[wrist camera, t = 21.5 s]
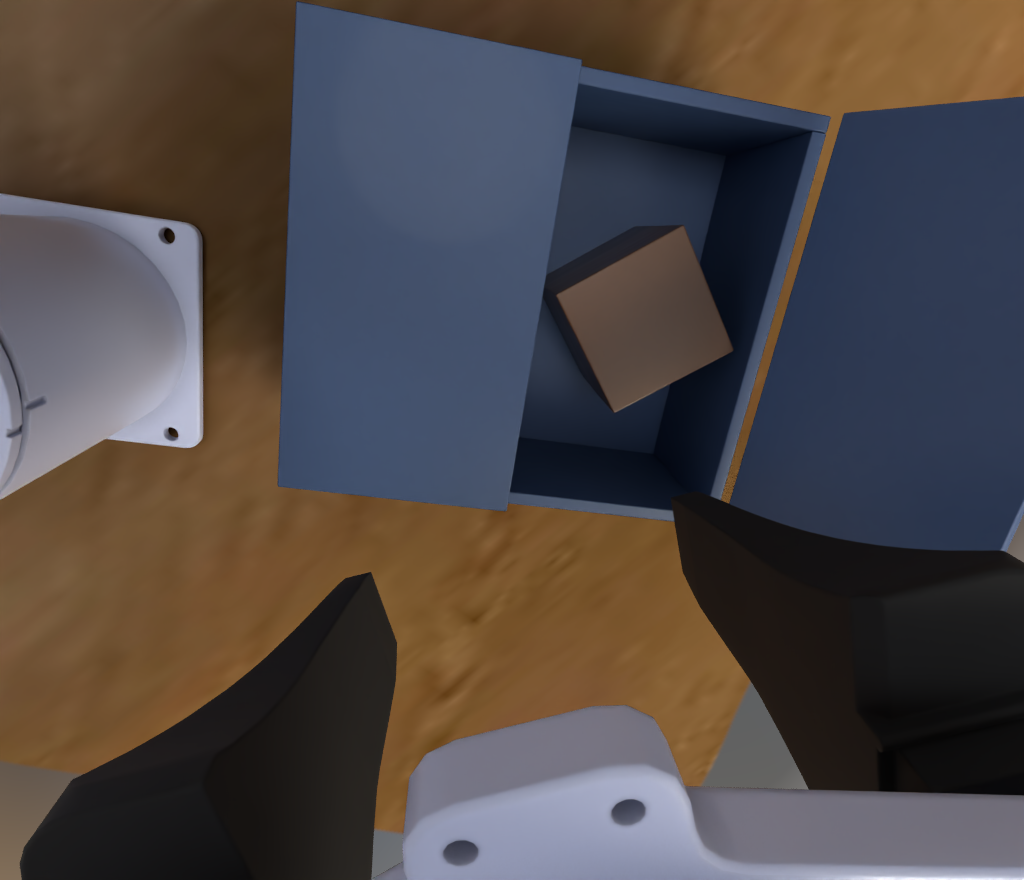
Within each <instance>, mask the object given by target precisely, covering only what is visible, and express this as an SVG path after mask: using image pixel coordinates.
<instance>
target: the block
mask: <svg viewBox="0 0 1024 880" xmlns="http://www.w3.org/2000/svg"><path fill="white" fill-rule="evenodd" d="M543 298H544V300H545V302H546V304H547V306H548V308H549V310H550V312H551V314H552V316H553V318H554V320H555V322H556V324H557V326H558V328H559V330H560V332H561V334H562V336H563V338H564V340H565V342H566V344H567V346H568V348H569V350H570V352H571V354H572V356H573V358H574V360H575V362H576V364H577V366H578V368H579V370H580V372H581V374H582V376H583V377H584V378H585V379H586V381H587V382H588V383H589V384H590V385H591V387H592V388H593V389H594V390H595V391H596V393H597V394H598V395H599V396H600V397H601V399H602V400H603V401H604V402H605V403H606V405H607V406H608V407H609V408H610V409H611V411H612V412H613V413H616V412H618V411H620V410H621V409H623V408H625V407H627V406H629V405H631V404H633V403H635V402H637V401H639V400H641V399H643V398H644V397H646V396H648V395H650V394H652V393H654V392H656V391H658V390H660V389H662V388H664V387H666V386H667V385H669V384H671V383H673V382H675V381H677V380H679V379H681V378H683V377H685V376H687V375H688V374H690V373H692V372H694V371H696V370H698V369H700V368H702V367H704V366H706V365H708V364H710V363H711V362H713V361H715V360H717V359H719V358H721V357H723V356H725V355H727V354H729V353H731V352H732V351H734V349H733V346H732V344H731V341H730V339H729V336H728V334H727V331H726V329H725V326H724V324H723V321H722V319H721V316H720V314H719V311H718V309H717V306H716V304H715V301H714V299H713V296H712V294H711V291H710V289H709V286H708V284H707V281H706V279H705V276H704V274H703V271H702V269H701V266H700V264H699V261H698V259H697V256H696V254H695V251H694V249H693V246H692V244H691V241H690V239H689V236H688V234H687V231H686V229H685V226H684V225H667V226H635V227H633V228H631V229H629V230H627V231H625V232H624V233H622V234H620V235H618V236H616V237H615V238H613V239H611V240H609V241H607V242H605V243H604V244H602V245H600V246H598V247H596V248H595V249H593V250H591V251H589V252H587V253H585V254H584V255H582V256H580V257H578V258H576V259H575V260H573V261H571V262H569V263H567V264H565V265H564V266H562V267H560V268H558V269H556V270H555V271H553V272H551V273H549V274H547V275H546V279H545V285H544V291H543Z"/></svg>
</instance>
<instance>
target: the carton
mask: <svg viewBox="0 0 1024 880" xmlns="http://www.w3.org/2000/svg"><path fill="white" fill-rule="evenodd" d="M830 119H831V117H829V116H825V115H820V114H816V113H811V112H806V111H801V110H796V109H791V108H786V107H781V106H776V105H771V104H766V103H762V102H757V101H752V100H747V99H742V98H737V97H732V96H727V95H722V94H717V93H712V92H707V91H703V90H698V89H693V88H688V87H683V86H678V85H673V84H668V83H663V82H658V81H653V80H649V79H644V78H639V77H634V76H629V75H624V74H619V73H614V72H609V71H604V70H599V69H594V68H590V67H585V66H582V60H581V59H577V58H573V57H568V56H563V55H558V54H553V53H548V52H543V51H538V50H533V49H529V48H524V47H519V46H514V45H509V44H504V43H499V42H494V41H490V40H485V39H480V38H475V37H470V36H465V35H460V34H455V33H450V32H446V31H441V30H436V29H431V28H426V27H421V26H416V25H411V24H407V23H402V22H397V21H392V20H387V19H382V18H377V17H372V16H368V15H363V14H358V13H353V12H348V11H343V10H338V9H333V8H328V7H324V6H319V5H314V4H309V3H304V2H299V1H297V2H296V18H295V44H294V70H293V96H292V123H291V149H290V175H289V201H288V228H287V254H286V280H285V306H284V332H283V359H282V385H281V411H280V437H279V464H278V487H287V488H296V489H305V490H314V491H324V492H333V493H342V494H351V495H360V496H369V497H379V498H388V499H397V500H406V501H415V502H424V503H434V504H443V505H452V506H461V507H470V508H479V509H489V510H498V511H506V510H507V505H508V503H511V504H520V505H529V506H539V507H548V508H557V509H566V510H575V511H584V512H593V513H602V514H611V515H620V516H629V517H638V518H647V519H656V520H665V521H674V515H673V509H672V503H671V497H674V496H678V495H682V494H686V493H690V492H695V491H698V492H701V493H704V494H706V495H709V496H711V497H714V498H716V499H719V500H721V497H722V493H723V490H724V486H725V483H726V480H727V476H728V473H729V469H730V466H731V462H732V459H733V455H734V452H735V448H736V445H737V441H738V438H739V434H740V431H741V427H742V424H743V421H744V417H745V414H746V410H747V407H748V403H749V400H750V396H751V393H752V389H753V386H754V382H755V379H756V375H757V372H758V368H759V365H760V362H761V358H762V355H763V351H764V348H765V344H766V341H767V337H768V334H769V330H770V327H771V323H772V320H773V316H774V313H775V309H776V306H777V303H778V299H779V296H780V292H781V289H782V285H783V282H784V278H785V275H786V271H787V268H788V264H789V261H790V257H791V254H792V250H793V247H794V244H795V240H796V237H797V233H798V230H799V226H800V223H801V219H802V216H803V212H804V209H805V205H806V202H807V198H808V195H809V191H810V188H811V185H812V181H813V178H814V174H815V171H816V167H817V164H818V160H819V157H820V153H821V150H822V146H823V143H824V139H825V136H826V134H825V133H826V132H827V129H828V126H829V122H830ZM667 225H684V226H685V229H686V231H687V234H688V236H689V239H690V241H691V244H692V246H693V249H694V251H695V254H696V256H697V259H698V261H699V264H700V266H701V269H702V271H703V274H704V276H705V279H706V281H707V284H708V286H709V289H710V291H711V294H712V296H713V299H714V301H715V304H716V306H717V309H718V311H719V314H720V316H721V319H722V321H723V324H724V326H725V329H726V331H727V334H728V336H729V339H730V341H731V344H732V346H733V349H734V351H732V352H731V353H729V354H727V355H725V356H723V357H721V358H719V359H717V360H715V361H713V362H711V363H710V364H708V365H706V366H704V367H702V368H700V369H698V370H696V371H694V372H692V373H690V374H688V375H687V376H685V377H683V378H681V379H679V380H677V381H675V382H673V383H671V384H669V385H667V386H666V387H664V388H662V389H660V390H658V391H656V392H654V393H652V394H650V395H648V396H646V397H644V398H643V399H641V400H639V401H637V402H635V403H633V404H631V405H629V406H627V407H625V408H623V409H621V410H620V411H618V412H616V413H613V412H612V411H611V409H610V408H609V407H608V406H607V405H606V403H605V402H604V401H603V400H602V399H601V397H600V396H599V395H598V394H597V393H596V391H595V390H594V389H593V388H592V387H591V385H590V384H589V383H588V382H587V381H586V379H585V378H584V377H583V376H582V374H581V372H580V370H579V368H578V366H577V364H576V362H575V360H574V358H573V356H572V354H571V352H570V350H569V348H568V346H567V344H566V342H565V340H564V338H563V336H562V334H561V332H560V330H559V328H558V326H557V324H556V322H555V320H554V318H553V316H552V314H551V312H550V310H549V308H548V306H547V304H546V302H545V300H544V298H543V291H544V285H545V279H546V275H547V274H549V273H551V272H553V271H555V270H556V269H558V268H560V267H562V266H564V265H565V264H567V263H569V262H571V261H573V260H575V259H576V258H578V257H580V256H582V255H584V254H585V253H587V252H589V251H591V250H593V249H595V248H596V247H598V246H600V245H602V244H604V243H605V242H607V241H609V240H611V239H613V238H615V237H616V236H618V235H620V234H622V233H624V232H625V231H627V230H629V229H631V228H633V227H635V226H667ZM674 522H675V521H674Z"/></svg>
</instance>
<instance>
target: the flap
mask: <svg viewBox="0 0 1024 880" xmlns="http://www.w3.org/2000/svg"><path fill="white" fill-rule="evenodd" d="M729 504H731V505H733V506H736V507H738V508H741V509H743V510H746V511H748V512H751V513H753V514H756V515H759V516H761V517H764V518H767V519H770V520H773V521H776V522H779V523H782V524H785V525H788V526H791V527H794V528H798V529H801V530H805V531H808V532H812V533H817V534H821V535H825V536H830V537H834V538H838V539H844V540H849V541H855V542H861V543H868V544H875V545H882V546H891V547H901V548H913V549H928V550H1003V551H1005V552H1006V551H1007V549H1008V546H1009V544H1010V542H1011V540H1012V538H1013V536H1014V533H1015V531H1016V529H1017V527H1018V525H1019V523H1020V521H1021V518H1022V516H1023V514H1024V97H1014V98H1004V99H993V100H982V101H971V102H960V103H949V104H938V105H927V106H917V107H906V108H895V109H884V110H873V111H862V112H851V113H844V115H843V118H842V122H841V125H840V128H839V132H838V135H837V139H836V142H835V146H834V149H833V152H832V156H831V159H830V163H829V166H828V169H827V173H826V176H825V180H824V183H823V186H822V190H821V193H820V197H819V200H818V203H817V207H816V210H815V214H814V217H813V220H812V224H811V227H810V231H809V234H808V237H807V241H806V244H805V248H804V251H803V254H802V258H801V261H800V265H799V268H798V272H797V275H796V278H795V282H794V285H793V289H792V292H791V295H790V299H789V302H788V306H787V309H786V312H785V316H784V319H783V323H782V326H781V329H780V333H779V336H778V340H777V343H776V346H775V350H774V353H773V357H772V360H771V363H770V367H769V370H768V374H767V377H766V380H765V384H764V387H763V391H762V394H761V398H760V401H759V404H758V408H757V411H756V415H755V418H754V421H753V425H752V428H751V432H750V435H749V438H748V442H747V445H746V449H745V452H744V455H743V459H742V462H741V466H740V469H739V472H738V476H737V479H736V483H735V486H734V489H733V493H732V496H731V500H730V503H729Z"/></svg>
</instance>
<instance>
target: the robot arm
mask: <svg viewBox="0 0 1024 880" xmlns="http://www.w3.org/2000/svg"><path fill="white" fill-rule="evenodd" d="M167 228H170V229H171V230H172V231H173V232H174V234H175V240H174V242H173V243H169V242H167V240H166V239H165V237H164V231H165V230H166V229H167ZM169 427H172V428H174V429H176V430H177V431H178V437H173V436H171V435H170V434H169V431H168V429H169ZM202 438H203V240H202V235H201V233H200V231H199V230H198V229H197V228H196V227H195V226H194V225H192V224H189V223H186V222H180V221H174V220H167V219H161V218H155V217H148V216H142V215H136V214H129V213H123V212H117V211H110V210H104V209H98V208H91V207H85V206H79V205H72V204H66V203H60V202H53V201H47V200H41V199H34V198H28V197H22V196H15V195H9V194H3V193H0V500H1V499H2V498H4V497H6V496H8V495H9V494H11V493H13V492H14V491H16V490H18V489H20V488H21V487H23V486H25V485H27V484H28V483H30V482H32V481H33V480H35V479H37V478H39V477H40V476H42V475H44V474H45V473H47V472H49V471H51V470H52V469H54V468H56V467H58V466H59V465H61V464H63V463H64V462H66V461H68V460H70V459H71V458H73V457H75V456H76V455H78V454H80V453H82V452H83V451H85V450H87V449H89V448H90V447H92V446H94V445H95V444H97V443H99V442H101V441H102V440H104V439H112V440H120V441H129V442H138V443H146V444H155V445H164V446H173V447H181V448H192V447H194V446H196V445H197V444H198V443H199V442H200V441H201V440H202ZM671 503H672V509H673V515H674V521H675V527H676V533H677V539H678V545H679V552H680V558H681V564H682V570H683V573H684V575H685V577H686V580H687V582H688V584H689V586H690V588H691V590H692V592H693V594H694V596H695V598H696V600H697V602H698V604H699V606H700V607H701V609H702V610H703V612H704V613H705V615H706V616H707V618H708V619H709V621H710V622H711V624H712V625H713V627H714V628H715V630H716V631H717V632H718V634H719V635H720V637H721V638H722V640H723V641H724V643H725V644H726V646H727V647H728V648H729V650H730V651H731V653H732V654H733V656H734V657H735V659H736V660H737V661H738V663H739V664H740V666H741V667H742V669H743V670H744V672H745V673H746V675H747V676H748V677H749V679H750V681H751V682H752V684H753V685H754V687H755V689H756V690H757V692H758V693H759V695H760V697H761V698H762V700H763V702H764V704H765V706H766V708H767V710H768V712H769V713H770V715H771V717H772V719H773V721H774V723H775V724H776V726H777V728H778V730H779V732H780V734H781V736H782V738H783V740H784V741H785V743H786V745H787V747H788V749H789V751H790V753H791V755H792V757H793V759H794V761H795V763H796V765H797V767H798V769H799V771H800V772H801V775H802V776H803V778H804V780H805V782H806V785H807V786H808V789H809V790H802V789H768V788H731V787H697V786H685V785H684V783H683V781H682V778H681V776H680V773H679V771H678V768H677V765H676V763H675V760H674V758H673V755H672V753H671V750H670V748H669V745H668V743H667V740H666V738H665V737H664V735H663V733H662V732H661V730H660V728H659V727H658V725H657V723H656V721H655V720H654V718H653V717H651V716H649V715H646V714H644V713H642V712H640V711H638V710H636V709H634V708H631V707H629V706H627V705H615V706H592V707H588V708H584V709H580V710H576V711H571V712H567V713H563V714H559V715H555V716H551V717H547V718H543V719H539V720H535V721H531V722H527V723H523V724H518V725H514V726H510V727H506V728H502V729H498V730H494V731H490V732H486V733H482V734H478V735H474V736H469V737H465V738H461V739H457V740H454V741H452V742H450V743H448V744H446V745H444V746H442V747H440V748H438V749H436V750H433V751H431V752H429V753H427V754H426V755H425V756H424V757H423V759H422V760H421V762H420V763H419V765H418V766H417V767H416V769H415V770H414V772H413V773H412V775H411V776H410V778H409V787H408V797H407V806H406V816H405V825H404V835H403V862H401V863H399V864H397V865H396V866H394V867H392V868H390V869H388V870H387V871H385V872H383V873H381V874H380V875H378V876H376V877H374V878H373V879H371V874H372V855H373V836H374V821H375V808H376V794H377V785H378V778H379V770H380V765H381V759H382V754H383V748H384V743H385V738H386V732H387V727H388V722H389V716H390V711H391V705H392V699H393V694H394V688H395V682H396V661H397V642H396V639H395V636H394V634H393V631H392V628H391V625H390V623H389V620H388V617H387V614H386V612H385V609H384V606H383V604H382V601H381V598H380V595H379V593H378V590H377V587H376V585H375V582H374V579H373V576H372V574H371V572H369V573H365V574H361V575H357V576H353V577H349V578H345V579H344V580H343V581H342V582H341V583H340V584H339V585H337V586H336V587H335V588H334V589H333V590H332V591H331V593H330V594H329V595H328V596H327V597H326V598H325V599H324V600H323V601H322V602H321V603H320V604H319V605H318V606H317V607H316V608H315V609H314V610H313V611H312V612H311V613H310V615H309V616H308V617H307V618H306V619H305V620H304V621H303V622H302V623H301V624H300V625H299V626H298V627H297V628H296V629H295V630H294V631H293V632H292V633H291V634H290V635H289V636H288V637H287V638H286V639H285V640H284V641H283V642H282V643H280V644H279V645H278V646H277V647H276V648H275V649H274V650H273V651H272V652H271V653H270V654H269V655H268V656H267V657H266V658H265V659H264V660H262V661H261V662H260V663H259V664H258V665H257V666H255V667H254V668H253V669H252V670H251V671H250V672H248V673H247V674H246V675H245V676H243V677H242V678H241V679H240V680H238V681H237V682H236V683H235V684H233V685H232V686H231V687H229V688H228V689H227V690H226V691H224V692H223V693H221V694H220V695H218V696H217V697H216V698H214V699H213V700H211V701H210V702H208V703H207V704H206V705H204V706H203V707H201V708H200V709H198V710H197V711H195V712H194V713H193V714H191V715H190V716H188V717H187V718H185V719H184V720H182V721H180V722H179V723H177V724H176V725H174V726H172V727H171V728H169V729H167V730H166V731H164V732H162V733H161V734H159V735H157V736H156V737H154V738H152V739H150V740H149V741H147V742H145V743H143V744H142V745H140V746H138V747H136V748H134V749H133V750H131V751H129V752H127V753H125V754H123V755H121V756H119V757H117V758H115V759H113V760H111V761H109V762H107V763H105V764H103V765H101V766H99V767H97V768H95V769H93V770H91V771H89V772H87V773H85V774H83V775H81V776H79V777H77V778H75V779H73V780H72V781H71V782H70V784H69V785H68V786H67V788H66V789H65V791H64V792H63V793H62V795H61V796H60V798H59V799H58V800H57V802H56V803H55V805H54V806H53V807H52V809H51V810H50V812H49V813H48V814H47V816H46V817H45V819H44V820H43V822H42V823H41V824H40V826H39V827H38V829H37V830H36V832H35V833H34V834H33V836H32V837H31V838H30V840H29V841H28V843H27V844H26V845H25V847H24V850H23V854H22V857H21V861H20V869H21V877H22V880H1024V563H1023V562H1022V561H1020V560H1018V559H1017V558H1015V557H1013V556H1012V555H1010V554H1008V553H1006V552H1005V551H1003V550H928V549H913V548H901V547H891V546H882V545H875V544H868V543H861V542H855V541H849V540H844V539H838V538H834V537H830V536H825V535H821V534H817V533H812V532H808V531H805V530H801V529H798V528H794V527H791V526H788V525H785V524H782V523H779V522H776V521H773V520H770V519H767V518H764V517H761V516H759V515H756V514H753V513H751V512H748V511H746V510H743V509H741V508H738V507H736V506H733V505H731V504H728V503H726V502H724V501H721V500H719V499H716V498H714V497H711V496H709V495H706V494H704V493H701V492H698V491H695V492H690V493H686V494H682V495H678V496H674V497H671Z"/></svg>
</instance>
